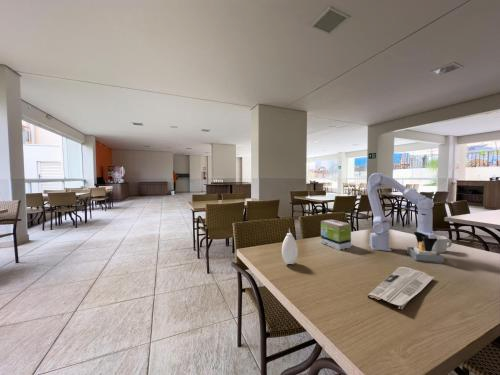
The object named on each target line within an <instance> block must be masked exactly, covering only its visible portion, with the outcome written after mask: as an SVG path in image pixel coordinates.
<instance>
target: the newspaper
mask: <svg viewBox="0 0 500 375" xmlns="http://www.w3.org/2000/svg"><path fill="white" fill-rule="evenodd" d="M434 278H435V277H434V276H431V275H429V274H428V273H427V272H426V271H424V272H423V271H422V270H418V269H414V268H410V267H406V266H405V267H404V266H399V267H398V268H396V269H395V270H394V271H393V272H392V273H390V275H388V276H387V277H386V278H385V279H384V280H383V281H382V282H381V283H380V284H378V285H377V286H376V287H375V288H374V289H372V291H370V293H368V294H367V296H368V295H369V296H371V295H373V296H376V297H378V298H381V299H383V300H382V301H386V302H388V303H389V304H393V305H395V306H397V307H398V306H400V309H401V308H402V309H401V310H403V309H404V308H405V307H406V305H407V304H408V303H409V301H410V300H411V299H412V298H414V297H415V296H416V295H418V294H419V293H420V292H422V290H423V289H424V288H425V287H426V286H427V285H428V284H429V283H430V282H431V281H432V280H433V279H434ZM367 296H366V297H367ZM401 310H400V311H401Z"/></svg>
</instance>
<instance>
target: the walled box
mask: <svg viewBox="0 0 500 375" xmlns="http://www.w3.org/2000/svg"><path fill="white" fill-rule="evenodd" d="M406 247H407V249H406V250H407V252H406V253H407V255H408V256H410V257H411V258H412V259H413V260H414V261H415V262H421V263H434V264H445V256H444V255H443V254H441V253H439V252H437V251H435V250H434V249H432V250H431V252H429V251H421V250H419V249H418V247H419V246H406Z"/></svg>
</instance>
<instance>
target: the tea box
mask: <svg viewBox="0 0 500 375" xmlns="http://www.w3.org/2000/svg"><path fill="white" fill-rule="evenodd" d="M320 243H321V244H323V245H325V244H326V246H328V247H330V246H331V247H330V248H333V249H336V250H337V249H338V251H342V250H341V249H343V250H346V249H345V248H347V249H350V248H351V247H352V224H351V223H348V222H344V221H339V220H336V219H332V218H331V219H326V220H320Z"/></svg>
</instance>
